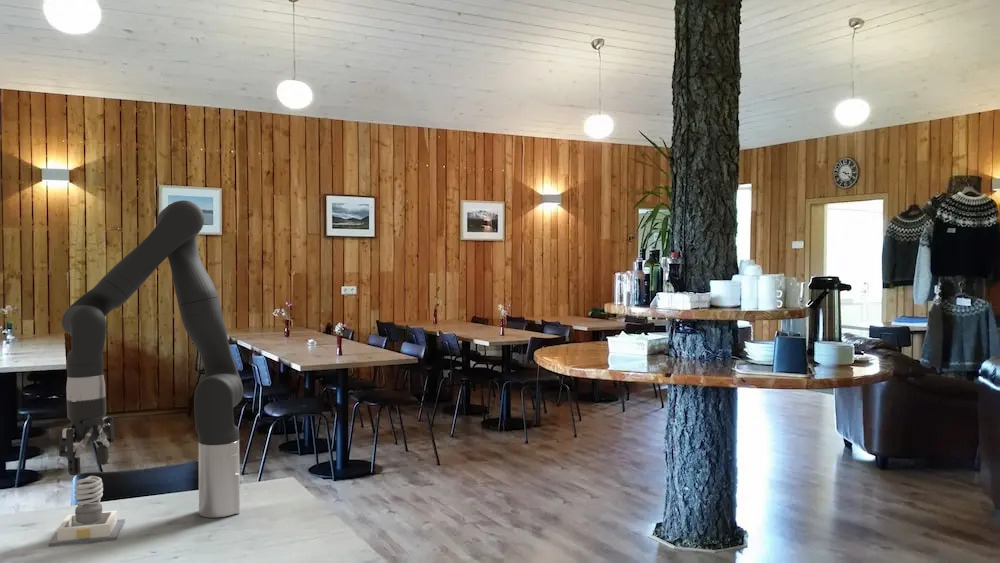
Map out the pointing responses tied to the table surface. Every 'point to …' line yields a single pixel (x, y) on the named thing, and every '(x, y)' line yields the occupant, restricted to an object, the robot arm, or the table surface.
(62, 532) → the cream square tray
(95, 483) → the light bulb
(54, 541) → the slate board
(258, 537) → the table surface
